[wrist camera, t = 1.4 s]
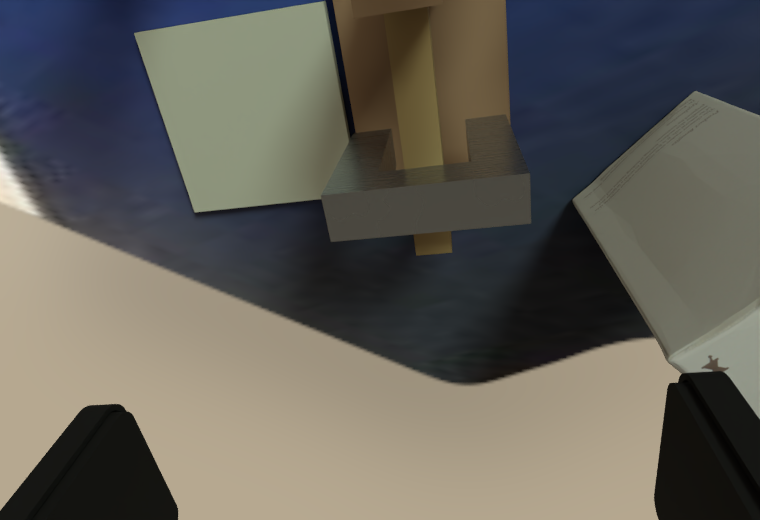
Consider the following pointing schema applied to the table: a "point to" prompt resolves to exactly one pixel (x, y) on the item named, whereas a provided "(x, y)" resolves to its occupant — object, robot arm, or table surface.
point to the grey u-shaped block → (428, 187)
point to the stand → (424, 77)
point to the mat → (250, 105)
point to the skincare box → (689, 236)
